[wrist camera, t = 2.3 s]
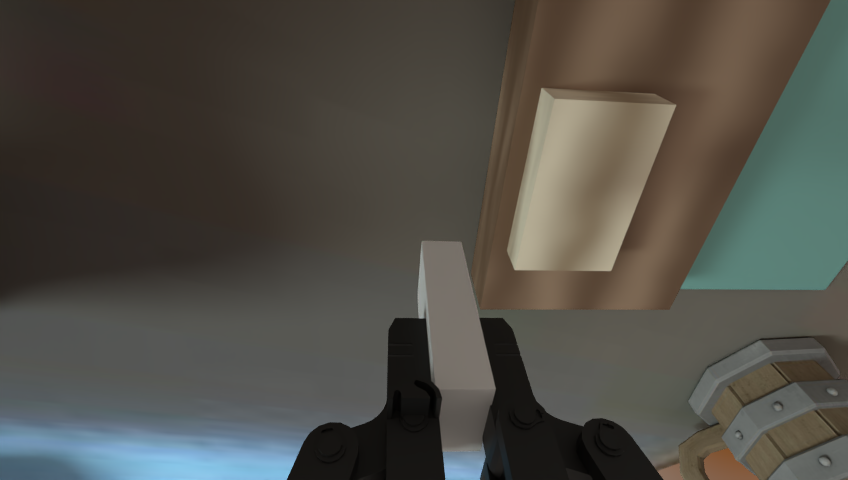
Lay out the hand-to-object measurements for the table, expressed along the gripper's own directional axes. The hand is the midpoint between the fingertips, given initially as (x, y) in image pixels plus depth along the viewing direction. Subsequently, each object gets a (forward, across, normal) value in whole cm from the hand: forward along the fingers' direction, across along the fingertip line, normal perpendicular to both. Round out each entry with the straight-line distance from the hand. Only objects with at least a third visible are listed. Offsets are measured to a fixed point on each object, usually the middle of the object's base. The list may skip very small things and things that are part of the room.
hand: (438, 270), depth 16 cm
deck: (+13, +11, 0) cm, 17 cm away
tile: (+9, +8, 0) cm, 12 cm away
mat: (+13, +27, 0) cm, 30 cm away
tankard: (+13, +33, -26) cm, 44 cm away
